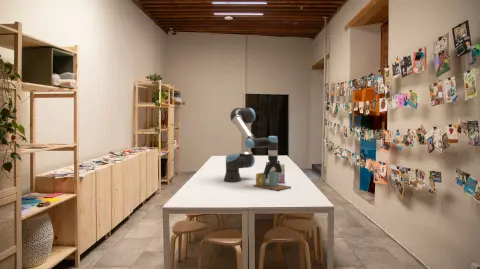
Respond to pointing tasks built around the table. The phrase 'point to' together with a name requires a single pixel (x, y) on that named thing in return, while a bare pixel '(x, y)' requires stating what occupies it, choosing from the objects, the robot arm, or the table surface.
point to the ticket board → (261, 185)
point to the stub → (272, 179)
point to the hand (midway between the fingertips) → (272, 181)
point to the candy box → (282, 174)
